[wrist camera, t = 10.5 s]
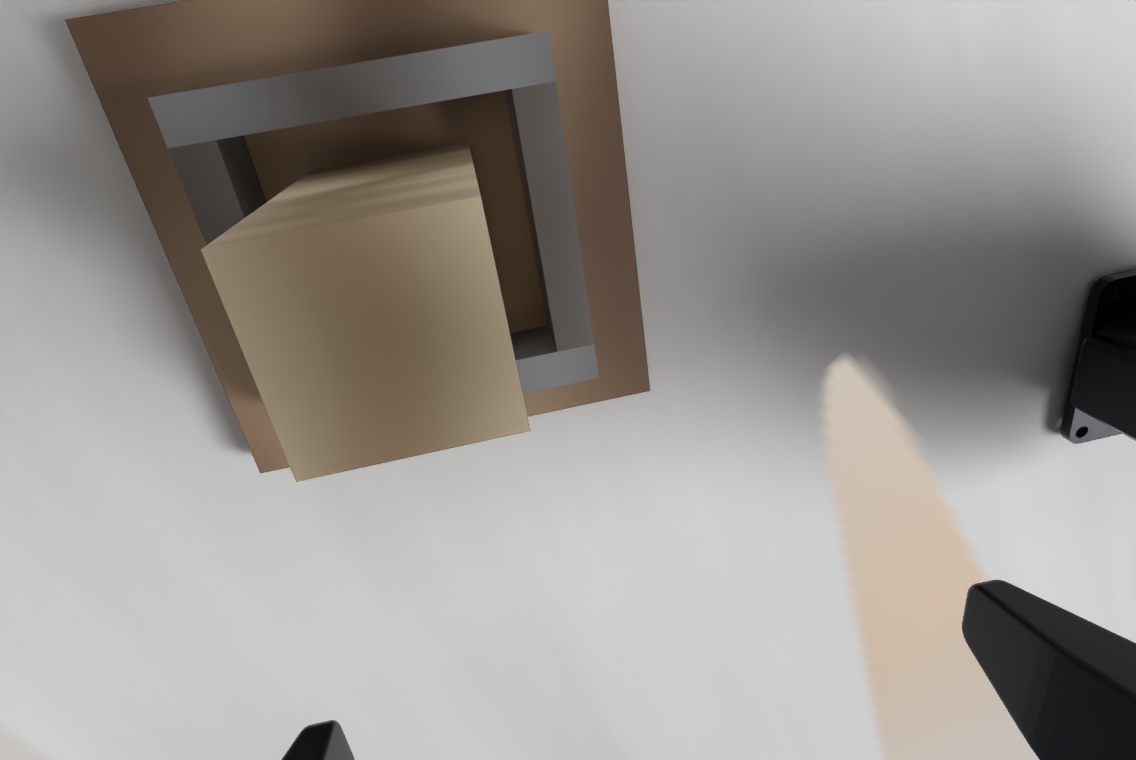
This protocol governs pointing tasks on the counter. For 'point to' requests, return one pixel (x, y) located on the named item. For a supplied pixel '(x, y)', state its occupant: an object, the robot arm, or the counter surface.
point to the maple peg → (373, 313)
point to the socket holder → (390, 154)
